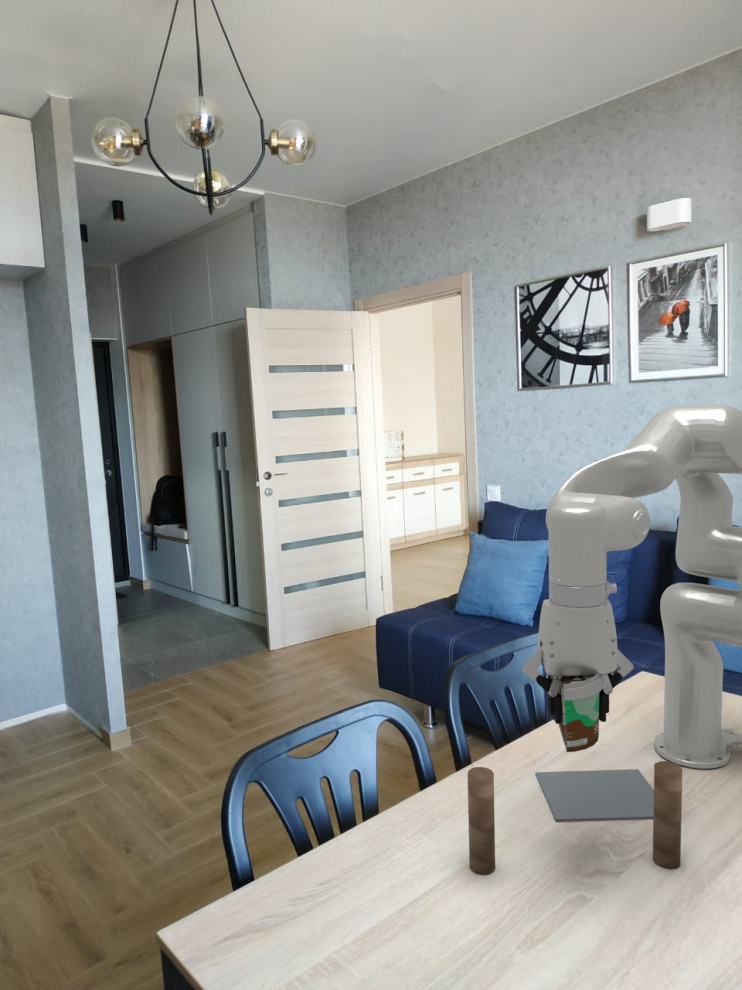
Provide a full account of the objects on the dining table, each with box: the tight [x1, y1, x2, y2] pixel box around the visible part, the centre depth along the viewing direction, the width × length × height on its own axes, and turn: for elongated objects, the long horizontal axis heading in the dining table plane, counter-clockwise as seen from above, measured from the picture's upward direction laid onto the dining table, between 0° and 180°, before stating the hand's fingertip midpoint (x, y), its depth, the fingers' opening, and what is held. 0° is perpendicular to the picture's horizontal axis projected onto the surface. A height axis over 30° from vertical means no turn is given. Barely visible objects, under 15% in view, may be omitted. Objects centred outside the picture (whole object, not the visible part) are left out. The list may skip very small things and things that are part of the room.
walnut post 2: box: [652, 760, 683, 870], centre depth 98 cm, size 4×4×14 cm
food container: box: [557, 672, 604, 753], centre depth 97 cm, size 12×6×10 cm, turn 173°
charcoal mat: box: [535, 768, 654, 823], centre depth 115 cm, size 18×14×1 cm
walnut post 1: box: [467, 766, 496, 876], centre depth 98 cm, size 4×4×14 cm
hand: (578, 717), depth 98 cm, fingers closed on food container, 5 cm apart
